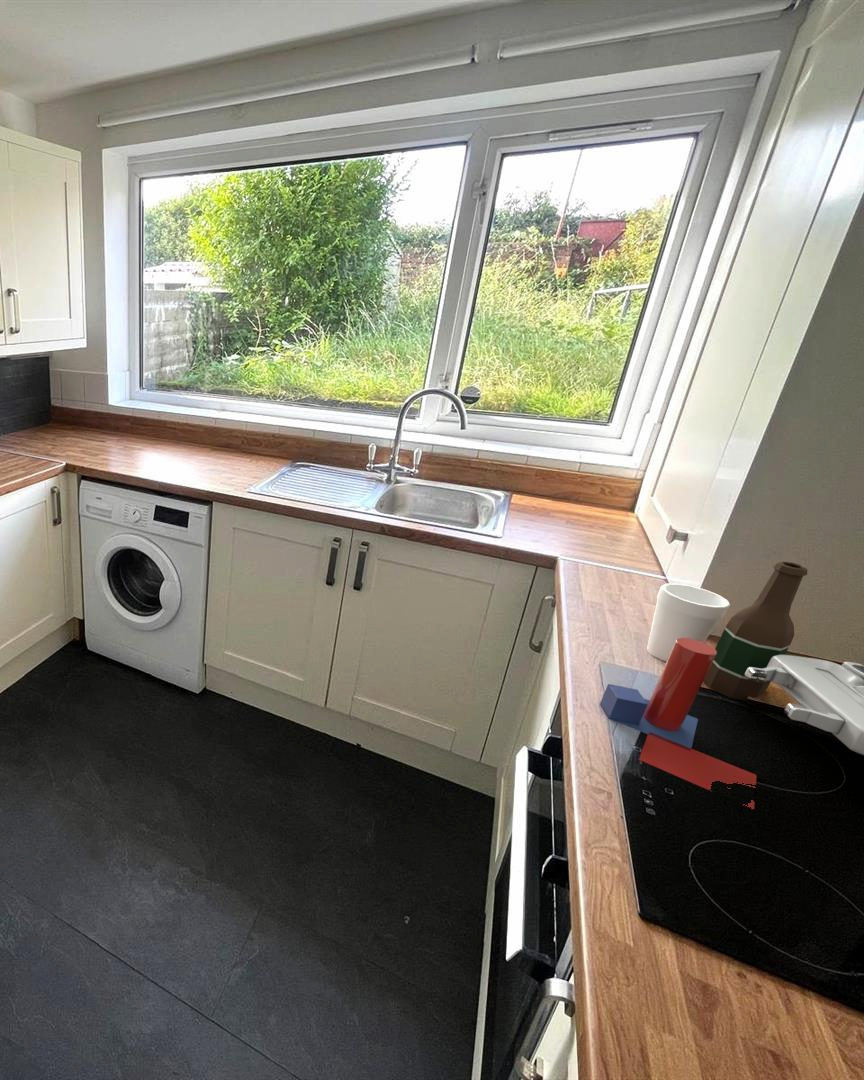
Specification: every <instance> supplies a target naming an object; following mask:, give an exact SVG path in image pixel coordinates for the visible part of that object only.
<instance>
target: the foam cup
mask: <svg viewBox="0 0 864 1080" xmlns="http://www.w3.org/2000/svg"><path fill="white" fill-rule="evenodd" d="M655 604H656V605H655V609H654V614H653V618H652V622H651V627H650V631H649V632H650V633H649V635H648V636H649V637H648V642H647V647H646V650H647V652H648V654H650V655H651V656H652V657H654V658H656V659H658V660H660V661H663V662H665V663H666V662H667V660H668V657H669V655H670V653H671V651H672V648H673V646H674V644H675V642H676V640H677V639H678V638H689V639H694V640H697V641H700V642H703V643H705V642H706V640H707V639H708V638H709V636H710V635H711V634H712V633H713V630H714V629H715V628H716V626H717V625H718V623H719V622H720V621H721V619H722V618H724V617H726V614H727V612H728V610H729V607H730V606H731V604H730V602H729V600H728V599H726V598H725V597H723V596H722V595H720V594H718V593H715V592H713V591H711V590H708V589H705V588H702V587H697V586H694V585H691V584H684V583H683V584H682V583H678V582H677V583H676V582H675V583H674V582H673V583H672V582H671V583H669V582H668V583H664V584H662V585H660V588H659V590H658V593H657V594H656V603H655Z"/></svg>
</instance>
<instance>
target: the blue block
mask: <svg viewBox="0 0 864 1080" xmlns="http://www.w3.org/2000/svg"><path fill="white" fill-rule="evenodd" d="M645 699H646V698H645V697H643V696H642V694H641V692H640V690H638V689H636V688H631V687H626V686H621V685H617V684H611V683H608V684H607V685H606V688H605V690H604V693H603V694H602V698H601V700H600V703H599V705H600V706H601V708H602V710H603V712H604V713H605V714H606V716H607V719H609V720H611V719H613V720H612V721H614V720H618V721H623V722H627V723H632V724H637V725H639V723H640V721H641V719H642V716H643V714H644V712H645V710H646V707H647V705H648V704H647V702H646V701H645Z"/></svg>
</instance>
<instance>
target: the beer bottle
mask: <svg viewBox="0 0 864 1080" xmlns="http://www.w3.org/2000/svg"><path fill="white" fill-rule="evenodd" d="M772 568H773V571H772V573H771V575H770V577H769V579H768V580H767V582H766V584H765V585H764V587H763V589H762V590H761V592H760V593H759V595H758V597H757V598H756V599H755V600H754V602H753V603H752V604H751V605H748V606H747V607H745V608H743V609H741V610H738V612H736V613H735V614H734V615H733V616H731V617H730V619H729V621H728V622H727V624H726V626H724V629H723V631H722V633H721V635H720V638H719V640H718V642H717V644H716V646H715V648H714V649H715V650H716V651H717V654H716V656H715V658H714V660H713V662H712V664H711V666H710V668H709V670H708V673H707V675H706V677H705V679H704V681H703V683H704V684H705V685H706V686H707V687H708V688H709V689H710V690H713V691H715V692H717V693H719V694H721V695H722V696H725V697H728V698H729V699H734V700H739V701H744V702H748V699H749V698H748V697H752V698H757V697H759V696H761V695H764V694H765V693H766V691H767V690H768V688H769V686H770V684H771V683H772V682H771V681H764V683H763V684H762V683H757V682H752V681H750V680H749V679H748V678H747V677H746V676H745V672H746V670H747V668H749V667H755V668H761V669H762V668H767V665H768V663H769V662H770V660H771V658H772V657H773V656H776V655H787V652H788V650H789V649H790V646H791V644H792V642H793V639H794V637H795V626H794V622H793V620H792V618H791V615H790V612H791V609H792V604H793V602H794V599H795V597H796V594H797V593H798V589H799V587H800V585H801V582H802V580H803V578H804V577H805V576H807V575H808V568H806V567H805V566H803V565H801V564H798V563H795V562H792V561H791V562H790V561H779V562H776V563H775V565H773V566H772Z"/></svg>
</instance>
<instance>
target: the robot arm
mask: <svg viewBox="0 0 864 1080" xmlns="http://www.w3.org/2000/svg"><path fill="white" fill-rule="evenodd" d="M745 676H746V677H747V678H748V679H749V680H750V681H752V682H757V683H762V684H763V683H764V681H771V682H770V683H772V684H775V685H777V686H778V687H780V688H781V689H782V690H783V691H784V692H785V693H786V694H787V695H788V696H789V697H791V698H792V699H793V700H794V701H795V702H796V703H797V704H796V703H793V702H792V703H791V702H789V703H787V704H786V705H785V708H784V709H783V713H784V714H785V715H786V716H787V717H788V718H789V719H790V720H792V721H797V722H802V723H805V724H807V725H810V726H812V727H815V728H818V729H820V730H823V731H825V732H828V733H831V734H832V735H833V736H834V737H836V738H837V739H838V740H839V741H840V743H842V744H843V745H845V746H846V747H847V748H848V749H849V750H851V751H852V752H855V753H857V754H859V755H862V756H864V664H861V663H858V662H852V661H843V663H842V664H838V663H836V662H833V661H830V660H824V659H819V658H814V657H807V656H799V655H792V654H785V655H776V656H773V657H772V658H771V660H770V662H769V663H768V665H767V668H762V669H761V668H755V667H749V668H747V670H746V672H745Z"/></svg>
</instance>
